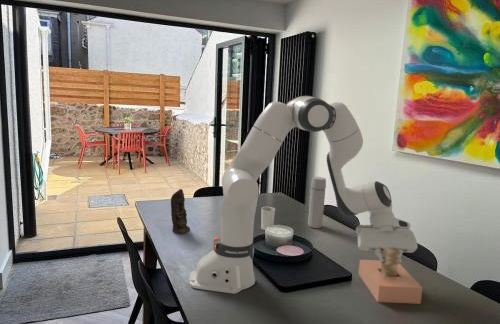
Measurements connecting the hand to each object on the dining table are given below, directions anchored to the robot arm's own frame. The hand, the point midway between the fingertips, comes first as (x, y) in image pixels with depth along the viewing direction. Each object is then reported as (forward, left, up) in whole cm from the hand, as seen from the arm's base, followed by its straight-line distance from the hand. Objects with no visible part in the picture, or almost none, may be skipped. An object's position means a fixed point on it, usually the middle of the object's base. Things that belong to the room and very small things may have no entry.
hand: (390, 262), depth 129 cm
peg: (0, +1, -5) cm, 5 cm away
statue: (-79, +48, -10) cm, 93 cm away
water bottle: (-13, +64, -10) cm, 66 cm away
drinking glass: (-38, +57, -10) cm, 69 cm away
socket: (0, +1, -9) cm, 9 cm away
